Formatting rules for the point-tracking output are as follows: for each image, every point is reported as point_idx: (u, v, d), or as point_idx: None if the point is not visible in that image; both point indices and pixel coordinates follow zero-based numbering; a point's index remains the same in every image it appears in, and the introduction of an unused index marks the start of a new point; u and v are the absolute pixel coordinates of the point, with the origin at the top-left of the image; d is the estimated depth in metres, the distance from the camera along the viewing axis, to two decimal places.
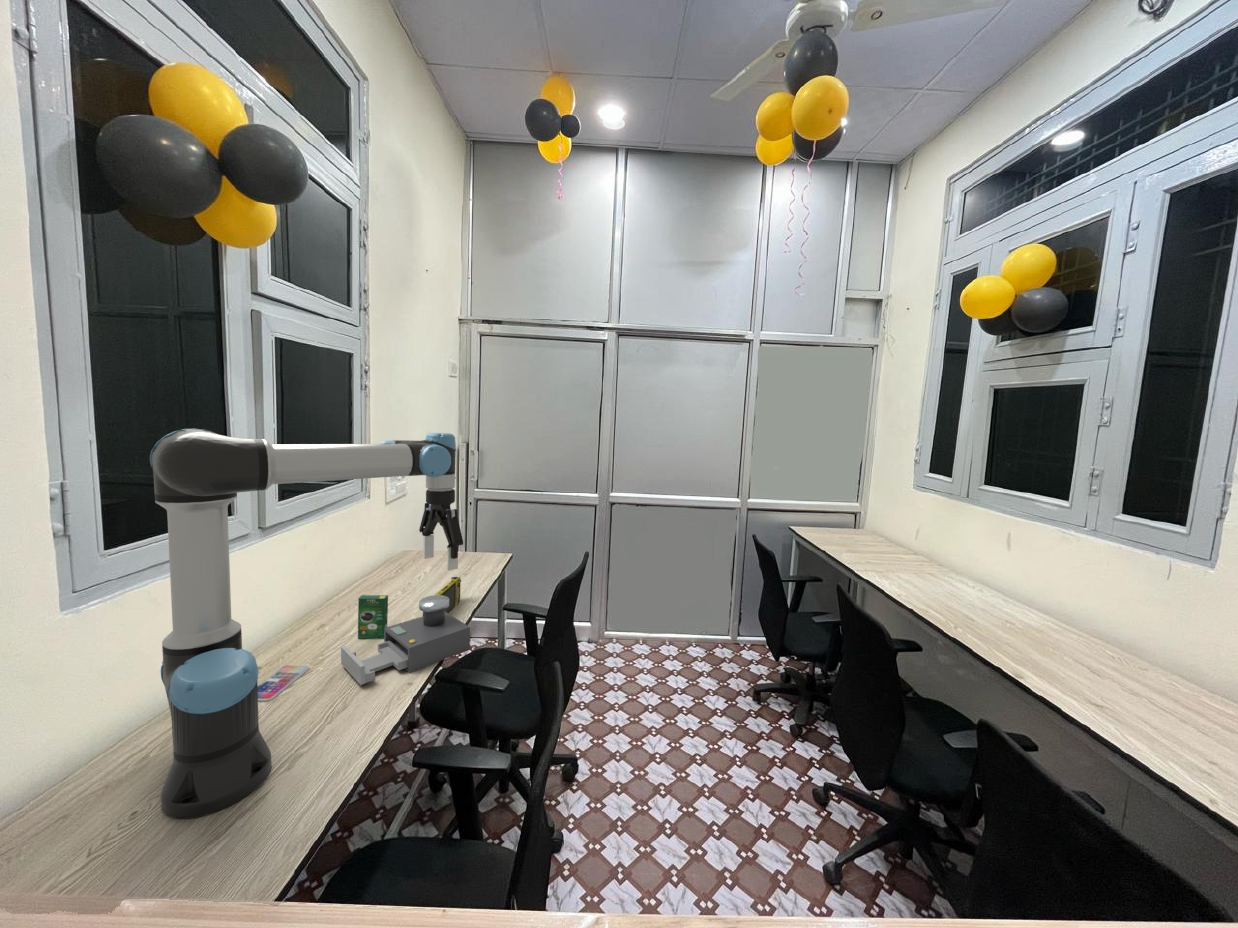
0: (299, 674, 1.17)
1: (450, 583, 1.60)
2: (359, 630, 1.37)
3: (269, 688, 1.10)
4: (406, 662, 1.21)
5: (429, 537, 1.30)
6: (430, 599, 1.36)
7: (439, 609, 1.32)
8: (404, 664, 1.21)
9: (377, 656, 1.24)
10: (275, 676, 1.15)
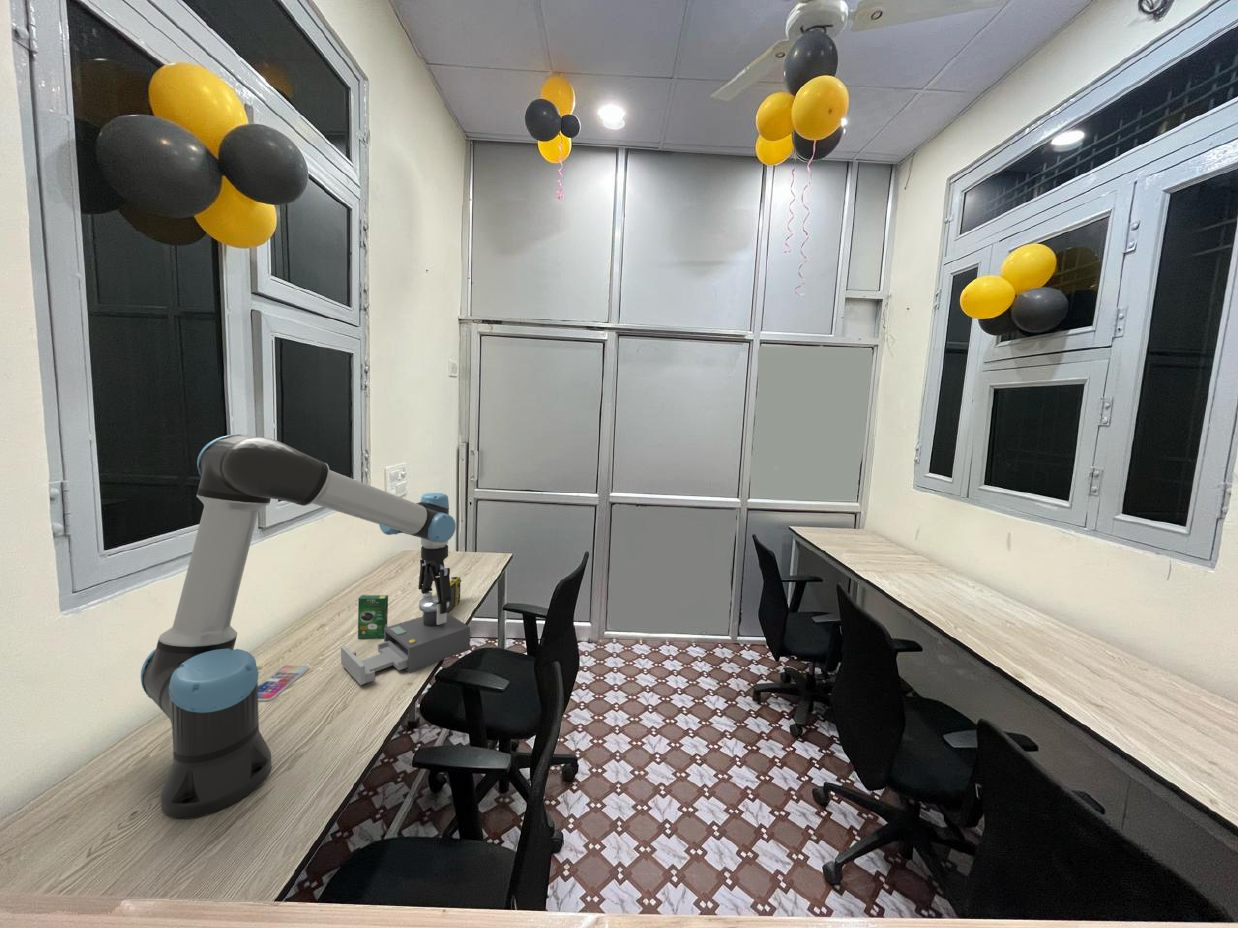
0: (299, 674, 1.17)
1: (450, 583, 1.60)
2: (359, 630, 1.37)
3: (269, 688, 1.10)
4: (406, 662, 1.21)
5: (428, 594, 1.38)
6: (430, 599, 1.36)
7: None
8: (404, 664, 1.21)
9: (377, 656, 1.24)
10: (275, 676, 1.15)
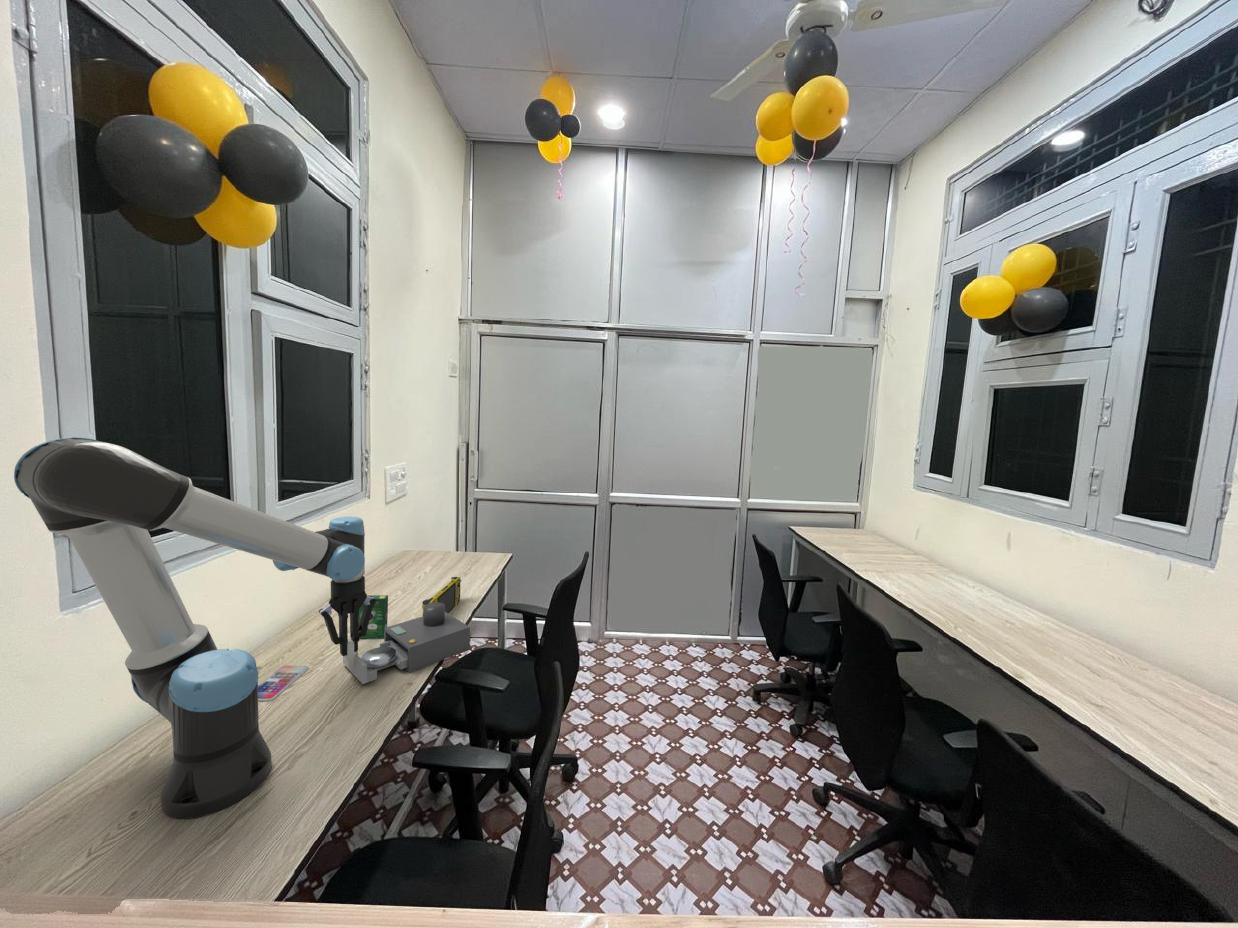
0: (299, 674, 1.17)
1: (450, 583, 1.60)
2: None
3: (270, 688, 1.10)
4: None
5: None
6: (375, 652, 1.23)
7: (383, 665, 1.19)
8: (406, 663, 1.21)
9: None
10: (274, 676, 1.15)
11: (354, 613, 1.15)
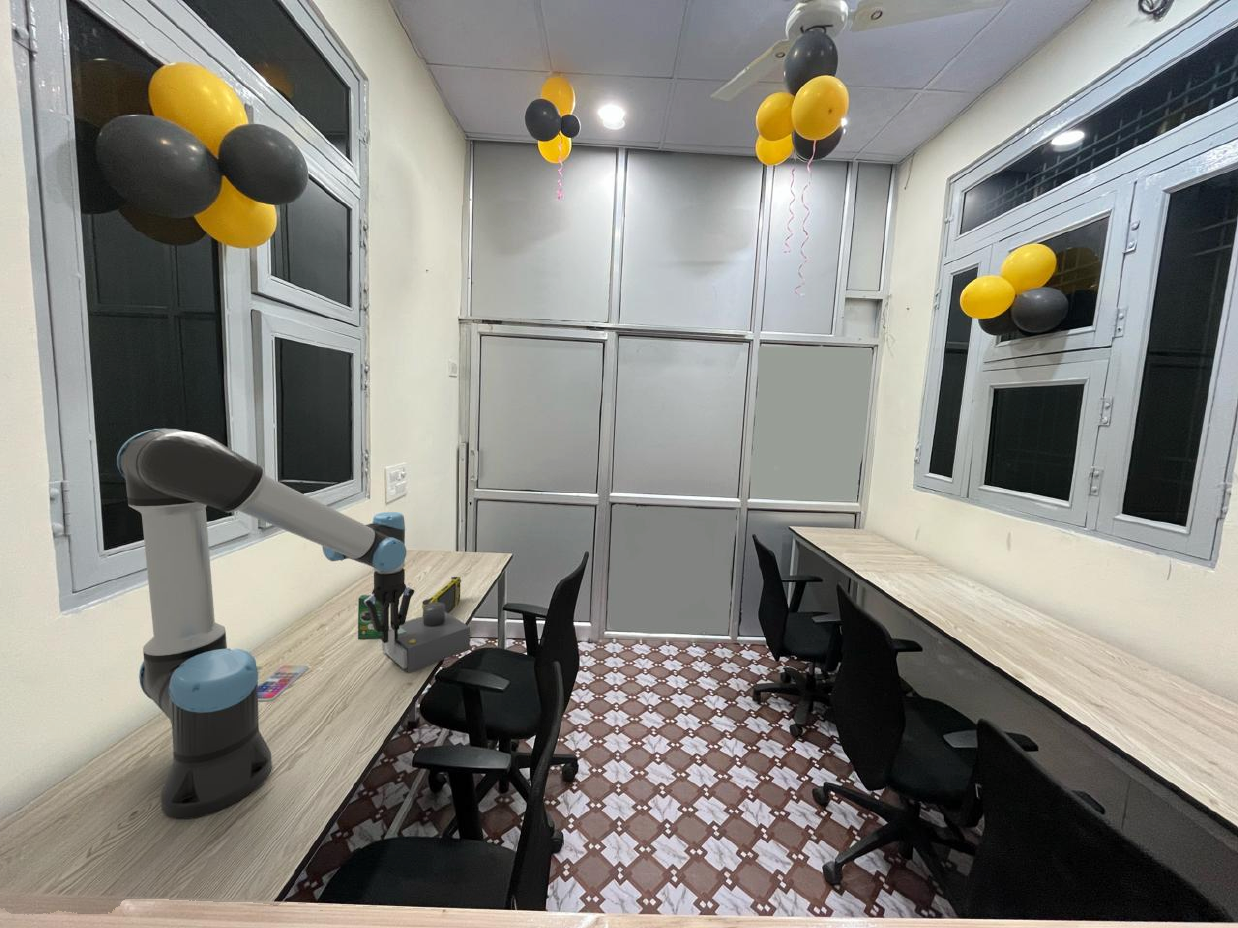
0: (299, 674, 1.17)
1: (450, 583, 1.60)
2: (359, 630, 1.37)
3: (270, 688, 1.10)
4: None
5: None
6: None
7: None
8: None
9: None
10: (274, 676, 1.15)
11: (395, 603, 1.23)
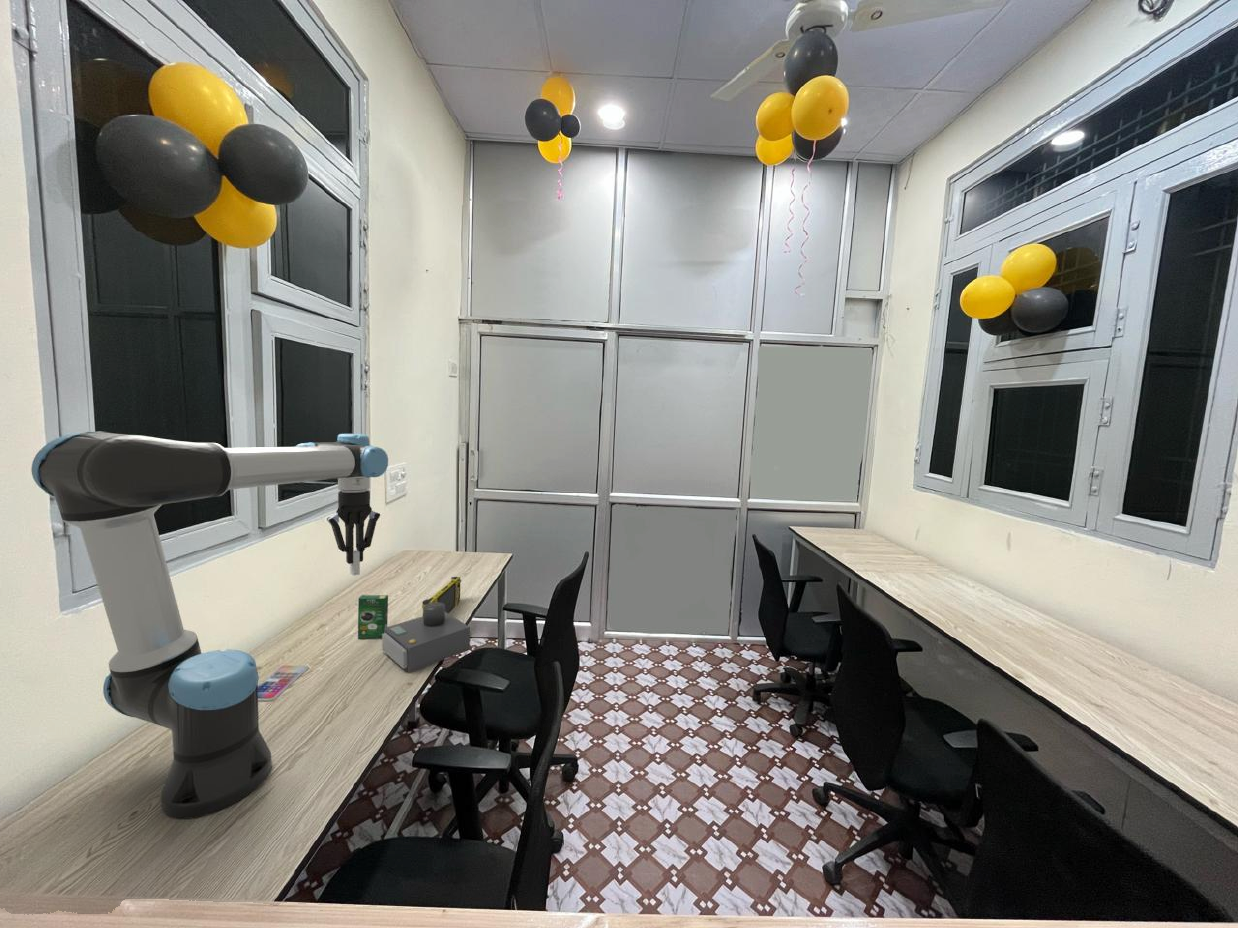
0: (299, 674, 1.17)
1: (450, 583, 1.60)
2: (359, 630, 1.37)
3: (270, 688, 1.10)
4: None
5: None
6: None
7: None
8: None
9: None
10: (274, 676, 1.15)
11: (360, 524, 1.23)
